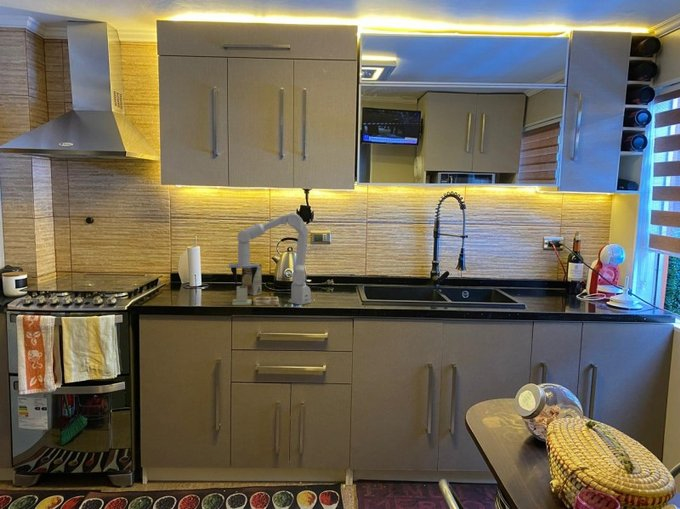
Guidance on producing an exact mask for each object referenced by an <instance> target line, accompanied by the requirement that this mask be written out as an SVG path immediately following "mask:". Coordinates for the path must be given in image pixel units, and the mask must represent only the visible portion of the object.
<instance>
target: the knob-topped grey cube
mask: <svg viewBox="0 0 680 509" xmlns="http://www.w3.org/2000/svg"><path fill="white" fill-rule="evenodd" d="M247 299H248V294H247V286H242V285H238V286H236V300H237V303H239V302H247Z"/></svg>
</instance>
